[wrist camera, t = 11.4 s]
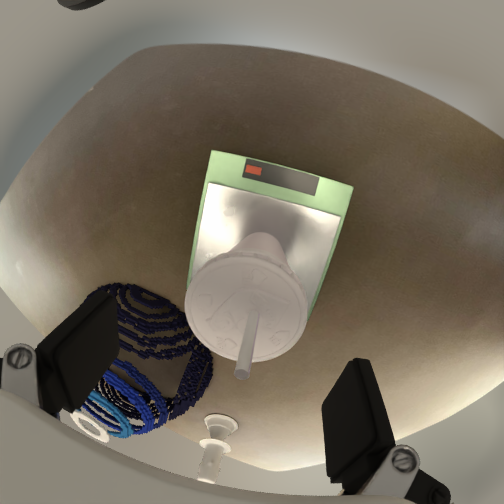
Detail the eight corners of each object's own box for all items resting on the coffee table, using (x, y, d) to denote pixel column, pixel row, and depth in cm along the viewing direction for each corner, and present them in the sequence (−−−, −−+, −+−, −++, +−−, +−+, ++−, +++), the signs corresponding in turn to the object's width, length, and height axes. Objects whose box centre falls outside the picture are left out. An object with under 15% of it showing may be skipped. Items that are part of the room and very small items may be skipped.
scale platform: (210, 181, 22) (207, 181, 21) (339, 214, 21) (341, 216, 21) (191, 283, 25) (189, 287, 24) (305, 313, 25) (306, 318, 24)
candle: (199, 422, 37) (179, 481, 25) (214, 409, 35) (195, 475, 24) (227, 435, 37) (213, 494, 26) (244, 423, 35) (232, 488, 24)
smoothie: (309, 275, 22) (332, 409, 9) (239, 298, 24) (197, 429, 11) (283, 203, 21) (282, 276, 8) (209, 231, 22) (118, 325, 9)
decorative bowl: (194, 416, 36) (168, 490, 23) (86, 363, 36) (40, 418, 22) (233, 326, 29) (200, 432, 16) (86, 260, 29) (4, 313, 16)
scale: (219, 151, 24) (210, 149, 20) (346, 184, 23) (355, 187, 20) (195, 276, 28) (184, 291, 25) (306, 306, 28) (308, 324, 24)
